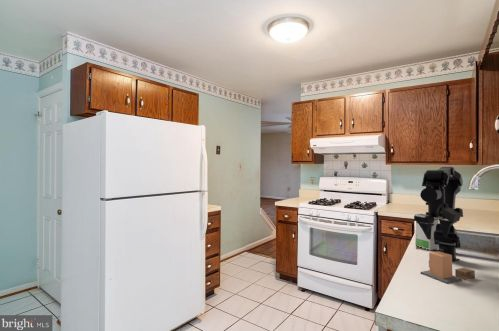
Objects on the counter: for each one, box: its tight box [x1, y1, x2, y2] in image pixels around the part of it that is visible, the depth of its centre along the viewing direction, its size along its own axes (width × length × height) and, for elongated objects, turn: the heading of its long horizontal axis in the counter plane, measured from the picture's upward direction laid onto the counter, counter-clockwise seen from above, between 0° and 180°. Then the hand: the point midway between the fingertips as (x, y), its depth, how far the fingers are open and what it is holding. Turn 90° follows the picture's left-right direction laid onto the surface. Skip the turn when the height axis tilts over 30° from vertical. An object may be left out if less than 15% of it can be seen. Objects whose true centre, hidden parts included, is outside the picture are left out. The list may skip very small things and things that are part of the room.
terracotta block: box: [428, 250, 453, 279], centre depth 101 cm, size 5×5×8 cm
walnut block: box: [454, 267, 476, 281], centre depth 100 cm, size 5×4×3 cm
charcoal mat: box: [420, 269, 463, 284], centre depth 101 cm, size 8×10×1 cm
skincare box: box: [414, 220, 440, 251], centre depth 138 cm, size 8×7×16 cm
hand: (437, 238), depth 110 cm, fingers open, 9 cm apart
